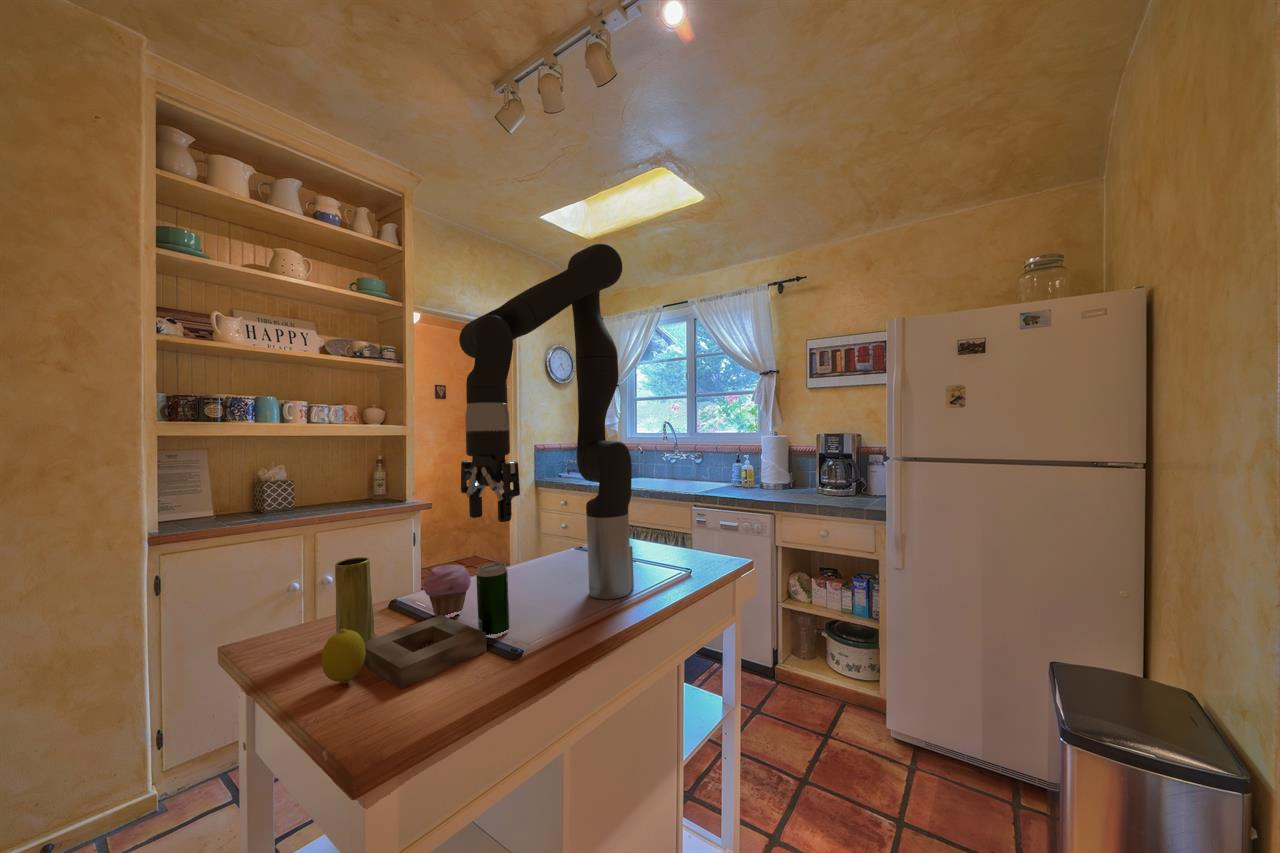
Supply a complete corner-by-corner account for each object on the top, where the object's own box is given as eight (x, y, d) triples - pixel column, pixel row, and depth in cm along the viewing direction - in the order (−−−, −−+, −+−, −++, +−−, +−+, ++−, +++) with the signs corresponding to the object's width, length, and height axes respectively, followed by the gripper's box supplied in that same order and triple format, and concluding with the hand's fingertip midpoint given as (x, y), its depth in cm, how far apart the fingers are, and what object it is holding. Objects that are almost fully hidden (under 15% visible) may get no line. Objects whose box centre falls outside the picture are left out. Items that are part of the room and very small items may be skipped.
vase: (337, 653, 81) (334, 568, 81) (332, 641, 86) (329, 561, 85) (378, 642, 85) (375, 560, 85) (371, 631, 89) (368, 554, 89)
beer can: (487, 642, 83) (484, 572, 83) (473, 633, 87) (470, 567, 87) (515, 632, 87) (512, 565, 87) (500, 624, 90) (498, 560, 90)
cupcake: (420, 614, 97) (418, 564, 97) (464, 603, 102) (462, 556, 102) (431, 628, 90) (429, 574, 90) (477, 616, 95) (476, 565, 95)
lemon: (349, 671, 75) (347, 619, 75) (375, 676, 73) (373, 623, 73) (313, 690, 69) (311, 634, 69) (340, 696, 67) (338, 639, 67)
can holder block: (441, 631, 88) (440, 614, 88) (486, 651, 80) (486, 632, 80) (359, 662, 77) (358, 644, 77) (401, 689, 69) (401, 668, 69)
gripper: (530, 427, 85) (532, 519, 85) (482, 429, 94) (484, 512, 94) (494, 428, 79) (496, 527, 79) (446, 430, 88) (448, 519, 88)
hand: (489, 519), depth 87 cm, fingers open, 8 cm apart
